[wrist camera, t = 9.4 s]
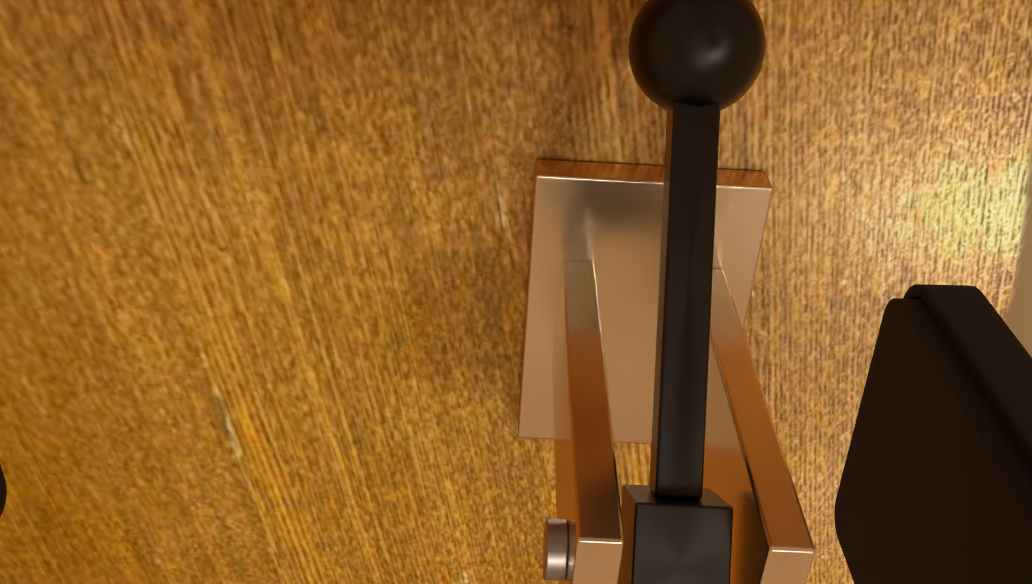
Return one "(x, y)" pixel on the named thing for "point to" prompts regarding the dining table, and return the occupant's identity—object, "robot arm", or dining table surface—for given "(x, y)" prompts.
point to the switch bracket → (644, 367)
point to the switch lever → (686, 281)
